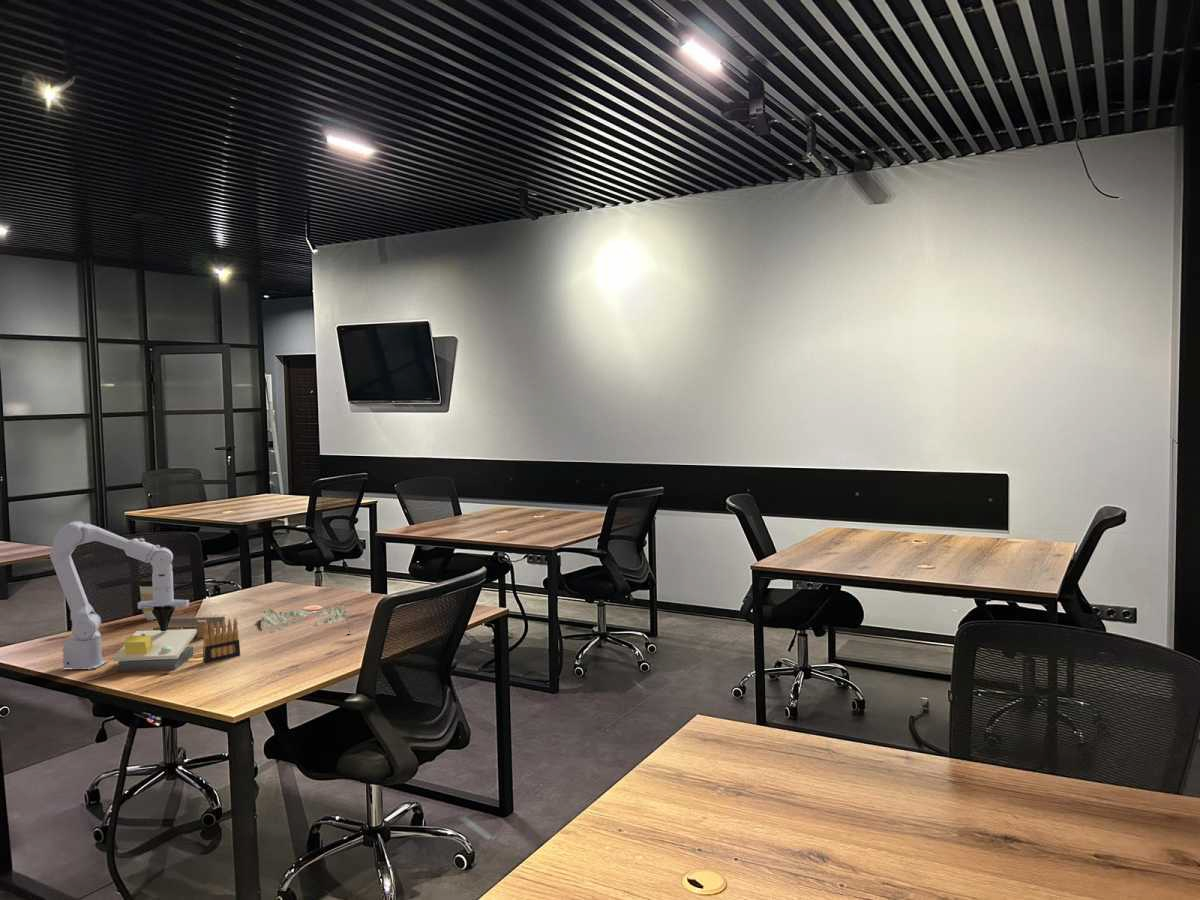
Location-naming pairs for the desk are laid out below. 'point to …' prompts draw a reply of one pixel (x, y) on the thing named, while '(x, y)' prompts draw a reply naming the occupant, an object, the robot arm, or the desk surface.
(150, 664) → the leveling base
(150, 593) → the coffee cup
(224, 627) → the ammunition clip
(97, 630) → the robot arm
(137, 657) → the plate
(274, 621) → the topographic map model
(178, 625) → the skate ramp
